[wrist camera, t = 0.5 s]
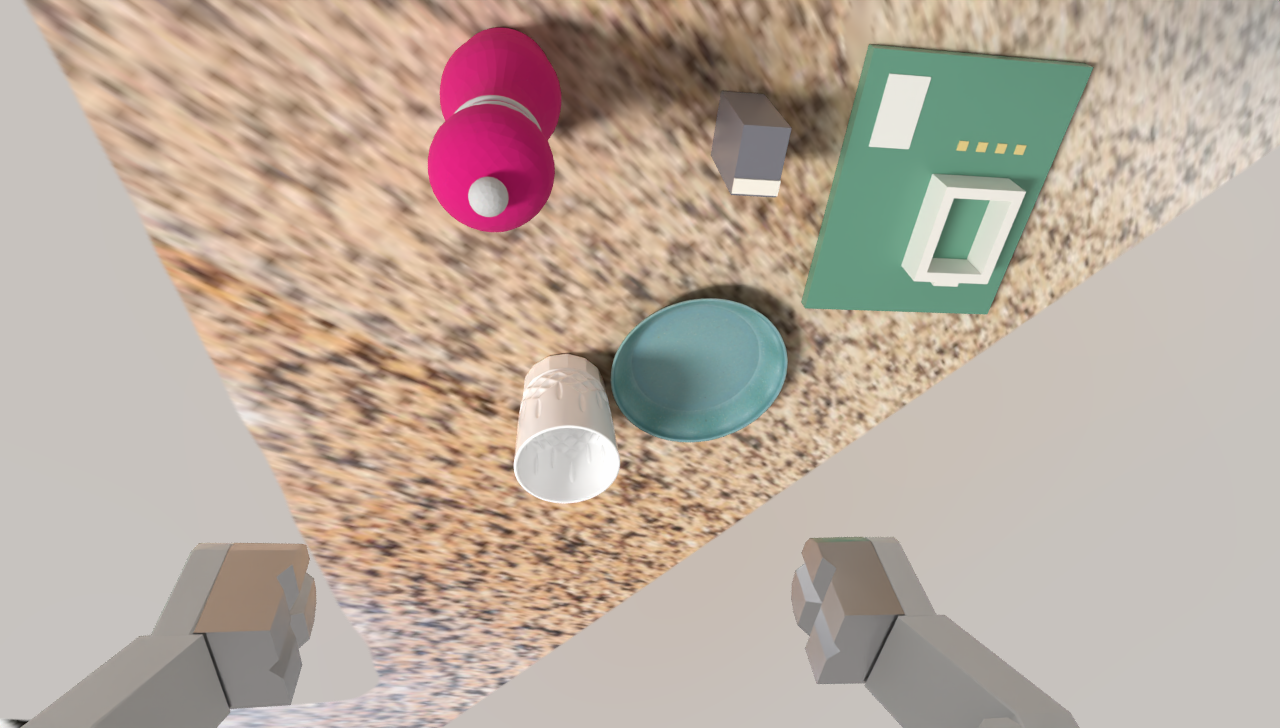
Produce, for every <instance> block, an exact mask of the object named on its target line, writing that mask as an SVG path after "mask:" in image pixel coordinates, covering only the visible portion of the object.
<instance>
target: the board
mask: <svg viewBox="0 0 1280 728" xmlns="http://www.w3.org/2000/svg"><path fill="white" fill-rule="evenodd" d="M1092 70H1093V67H1092V66H1090V65H1087V64H1085V63H1074V62H1063V61H1052V60H1040V59H1029V58H1018V57H1007V56H995V55H984V54H973V53H961V52H950V51H939V50H927V49H916V48H905V47H894V46H882V45H871V44H869V46H868V50H867V54H866V58H865V62H864V66H863V69H862V73H861V77H860V81H859V85H858V88H857V92H856V96H855V100H854V104H853V107H852V111H851V115H850V119H849V123H848V127H847V130H846V134H845V138H844V142H843V146H842V149H841V153H840V157H839V161H838V165H837V168H836V172H835V176H834V180H833V184H832V188H831V191H830V195H829V199H828V203H827V207H826V210H825V214H824V218H823V222H822V226H821V229H820V233H819V237H818V241H817V245H816V248H815V252H814V256H813V260H812V264H811V268H810V271H809V275H808V279H807V283H806V287H805V290H804V294H803V298H802V304H803V306H804V307H805V308H812V309H842V310H872V311H902V312H932V313H962V314H987V313H988V311H989V309H990V307H991V304H992V302H993V300H994V297H995V295H996V293H997V290H998V288H999V286H1000V283H1001V281H1002V279H1003V276H1004V274H1005V272H1006V269H1007V267H1008V265H1009V262H1010V260H1011V258H1012V255H1013V253H1014V251H1015V248H1016V246H1017V244H1018V242H1019V239H1020V237H1021V235H1022V232H1023V230H1024V228H1025V225H1026V223H1027V221H1028V218H1029V216H1030V214H1031V211H1032V209H1033V207H1034V204H1035V202H1036V200H1037V197H1038V195H1039V193H1040V190H1041V188H1042V186H1043V184H1044V181H1045V179H1046V177H1047V174H1048V172H1049V170H1050V167H1051V165H1052V163H1053V160H1054V158H1055V156H1056V153H1057V151H1058V149H1059V146H1060V144H1061V142H1062V139H1063V137H1064V135H1065V132H1066V130H1067V128H1068V125H1069V123H1070V121H1071V119H1072V116H1073V114H1074V112H1075V109H1076V107H1077V105H1078V102H1079V100H1080V98H1081V95H1082V93H1083V91H1084V88H1085V86H1086V84H1087V81H1088V79H1089V77H1090V74H1091V72H1092Z"/></svg>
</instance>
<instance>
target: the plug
mask: <svg viewBox="0 0 1280 728" xmlns="http://www.w3.org/2000/svg"><path fill="white" fill-rule="evenodd" d="M790 133H791V127H790V126H789V124H788V123H787V122H786V121H785V119H784V118H783V117H782V116H781V114H780V113H779V112H778V111H777V110H776V108H775V107H774V106H773V105H772V103H771V102H770V101H769V100H768V98H767V97H766V96H765V95H764V94H756V93H743V92H730V91H721V96H720V102H719V108H718V114H717V120H716V126H715V133H714V139H713V145H712V151H711V157H712V158H713V160H714V162H715V164H716V166H717V168H718V170H719V172H720V174H721V176H722V178H723V180H724V182H725V184H726V186H727V188H728V190H729V192H730V194H731V195H743V196H761V197H776V196H777V195H778V191H779V186H780V182H781V181H780V178H781V174H782V169H783V165H784V160H785V156H786V151H787V146H788V142H789V137H790Z"/></svg>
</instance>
